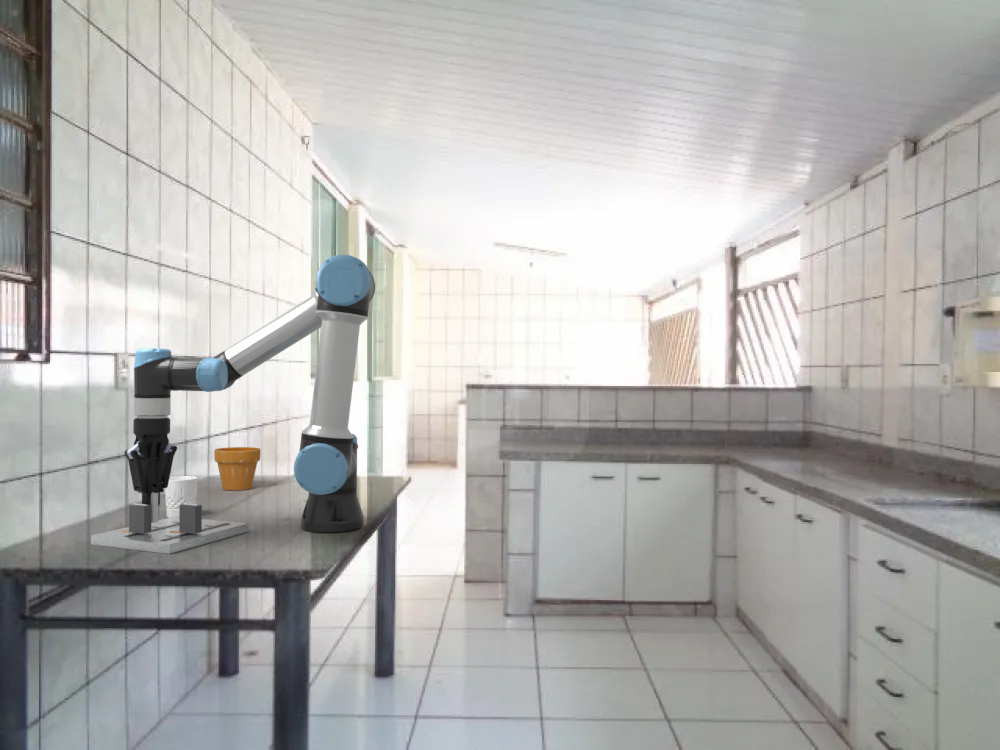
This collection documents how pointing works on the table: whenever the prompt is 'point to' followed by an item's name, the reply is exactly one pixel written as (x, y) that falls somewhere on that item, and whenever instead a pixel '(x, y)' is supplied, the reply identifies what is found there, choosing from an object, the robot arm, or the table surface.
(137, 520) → the fader tab
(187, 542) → the console
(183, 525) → the fader
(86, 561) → the table surface
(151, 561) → the table surface
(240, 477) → the flower pot
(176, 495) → the white cup
